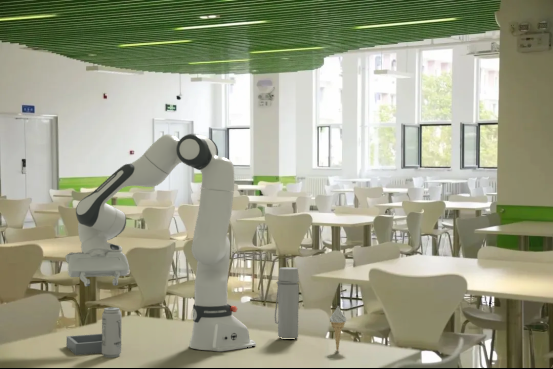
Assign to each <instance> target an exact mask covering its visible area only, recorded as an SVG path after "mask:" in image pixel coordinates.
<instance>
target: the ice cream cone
mask: <svg viewBox="0 0 553 369" xmlns="http://www.w3.org/2000/svg"><path fill="white" fill-rule="evenodd" d="M329 322H330V324H331V328H333V330H334V339H335V349H336V351H339V348H340V340H341V332H342V330H343V328H345V323H347V318H346V317H345V315H344V313H343V312H342V310H341V308H340V306H339V305H337V307H336V308H335V310H334V311H333V312H332V314H331V316H330V317H329Z"/></svg>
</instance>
